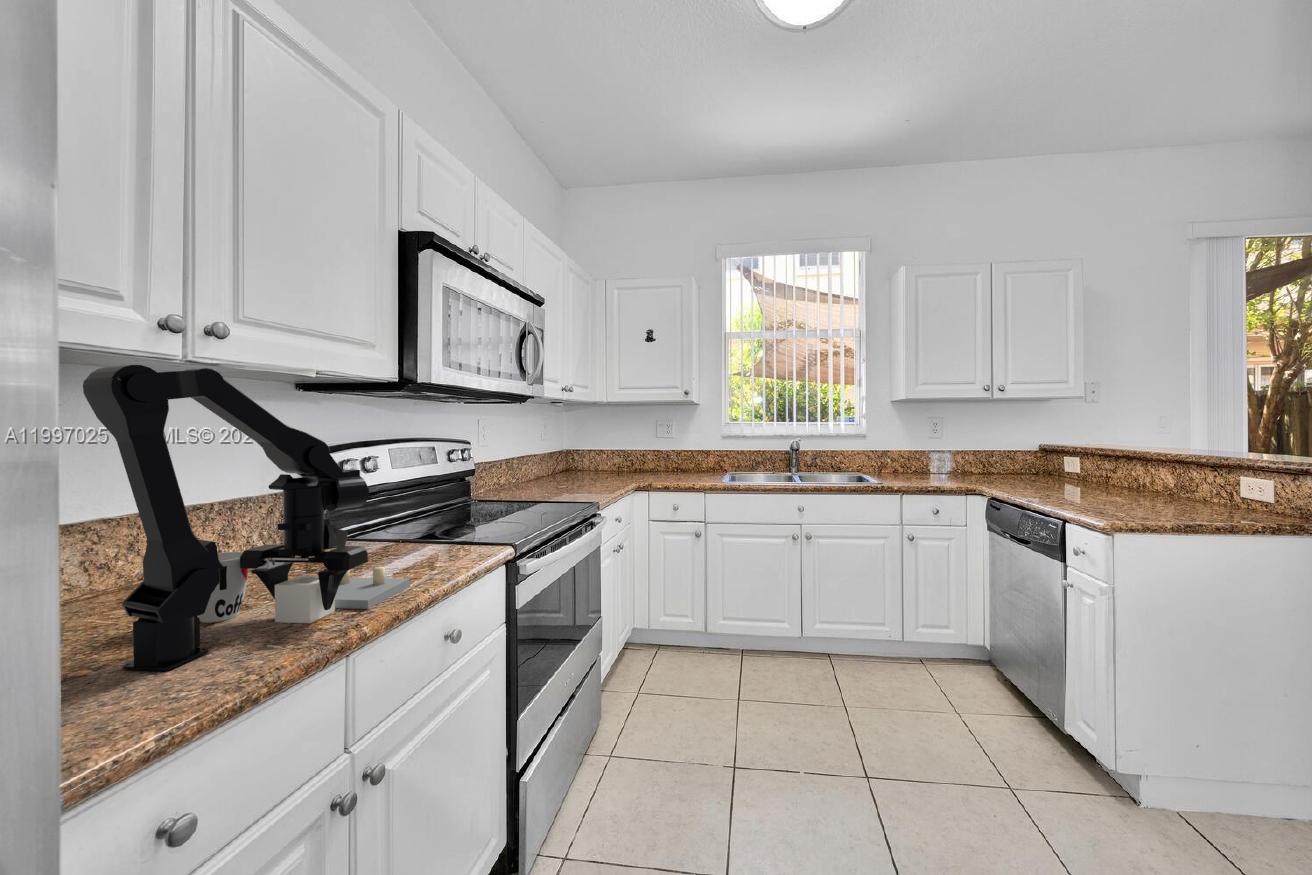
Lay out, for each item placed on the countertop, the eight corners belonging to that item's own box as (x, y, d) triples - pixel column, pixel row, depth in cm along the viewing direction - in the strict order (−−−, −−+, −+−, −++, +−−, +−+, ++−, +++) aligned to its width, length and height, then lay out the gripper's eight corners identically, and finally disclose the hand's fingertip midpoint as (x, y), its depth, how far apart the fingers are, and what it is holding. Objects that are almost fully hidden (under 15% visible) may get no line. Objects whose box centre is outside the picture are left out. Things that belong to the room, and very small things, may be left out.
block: (310, 623, 91) (309, 585, 91) (275, 622, 92) (274, 585, 92) (334, 611, 97) (334, 575, 97) (301, 610, 98) (301, 575, 98)
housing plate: (368, 608, 98) (367, 582, 98) (291, 606, 100) (291, 581, 99) (410, 586, 112) (409, 563, 112) (342, 584, 113) (342, 562, 113)
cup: (216, 627, 89) (215, 563, 89) (174, 624, 91) (173, 561, 91) (261, 611, 97) (260, 552, 97) (222, 608, 99) (221, 550, 99)
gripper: (385, 508, 101) (386, 595, 102) (286, 507, 103) (288, 593, 103) (346, 518, 90) (347, 616, 91) (236, 517, 92) (237, 613, 92)
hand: (305, 608), depth 94 cm, fingers open, 7 cm apart
